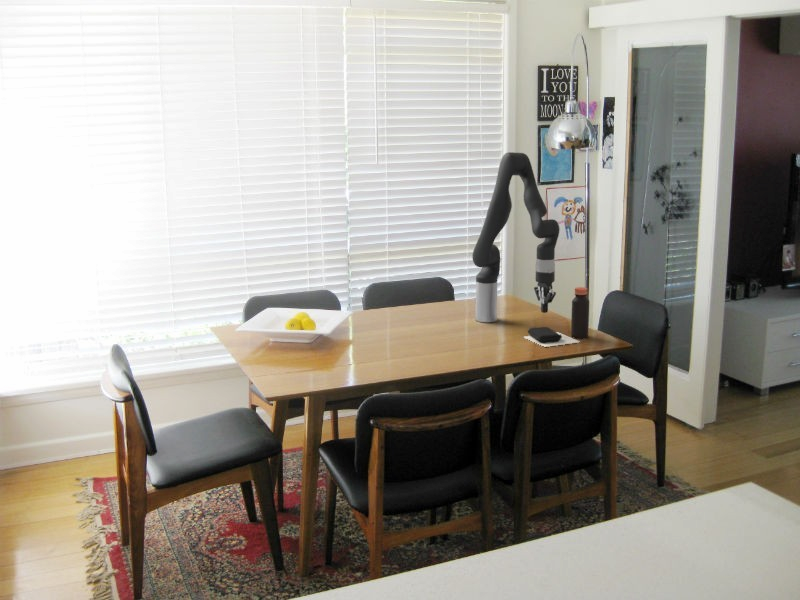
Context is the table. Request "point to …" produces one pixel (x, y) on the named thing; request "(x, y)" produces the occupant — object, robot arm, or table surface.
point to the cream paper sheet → (562, 341)
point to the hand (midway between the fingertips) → (544, 312)
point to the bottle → (580, 314)
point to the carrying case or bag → (544, 334)
